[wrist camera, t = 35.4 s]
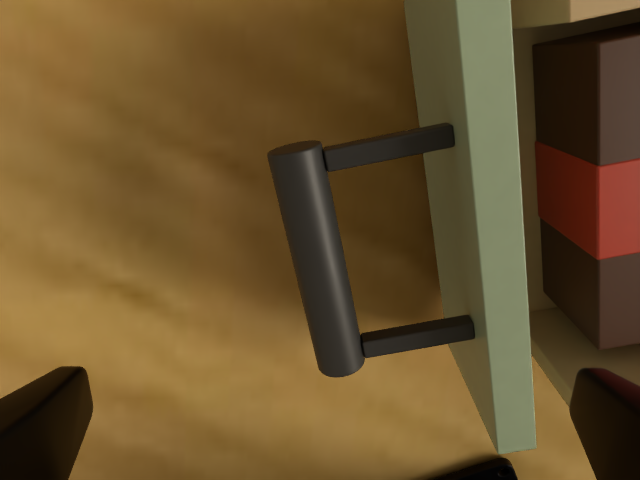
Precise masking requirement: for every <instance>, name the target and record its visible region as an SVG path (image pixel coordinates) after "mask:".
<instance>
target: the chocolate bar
mask: <svg viewBox="0 0 640 480" xmlns="http://www.w3.org/2000/svg"><path fill="white" fill-rule="evenodd" d="M532 55H533V77H534V98H535V120H536V141H535V159H536V180H537V201H538V216H539V217H540V229H541V250H542V272H543V292H544V293H545V294H546V295H547V296H548V297H549V298H550V299H551V300H552V301H553V302H554V304H555V305H556V306H557V307H558V308H559V309H560V310H561V311H562V312H563V313H564V314H565V315H566V316H567V317H568V318H569V319H570V320H571V321H572V323H573V324H574V325H575V326H576V327H577V328H578V329H579V330H580V331H581V332H582V333H583V334H584V335H585V336H586V337H587V338H588V339H589V341H590V342H591V343H592V344H593V345H594V346H595V347H596V348H597V349H598V350H603V349H609V348H615V347H621V346H626V345H632V344H638V343H640V22H636V23H631V24H627V25H622V26H617V27H613V28H608V29H603V30H598V31H594V32H589V33H584V34H580V35H575V36H570V37H565V38H561V39H556V40H551V41H547V42H542V43H537V44H534V45H532Z"/></svg>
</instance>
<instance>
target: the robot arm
mask: <svg viewBox="0 0 640 480" xmlns="http://www.w3.org/2000/svg"><path fill="white" fill-rule="evenodd" d="M569 410H570V415H571V419H572V421H573V424H574V426H575V428H576V431H577V433H578V436H579V438H580V440H581V443H582V445H583V447H584V450H585V452H586V455H587V457H588V459H589V462H590V464H591V467H592V469H593V471H594V474H595V476H596V479H597V480H640V386H639V385H637V384H635V383H633V382H631V381H629V380H627V379H625V378H623V377H621V376H619V375H617V374H615V373H613V372H611V371H609V370H607V369H605V368H582V369H580V370H579V371H578V372H577V375H576V378H575V383H574V387H573V391H572V396H571V400H570V405H569ZM92 412H93V401H92V396H91V391H90V385H89V380H88V375H87V372H86V370H85V369H84V368H83V367H80V366H62V367H59V368H57V369H55V370H53V371H51V372H49V373H47V374H45V375H44V376H42V377H40V378H38V379H36V380H34V381H33V382H31V383H29V384H27V385H25V386H23V387H21V388H20V389H18V390H16V391H14V392H12V393H10V394H9V395H7V396H5V397H3V398H1V399H0V480H68V479H69V476H70V474H71V471H72V468H73V465H74V463H75V460H76V457H77V455H78V452H79V449H80V447H81V444H82V441H83V439H84V436H85V433H86V430H87V428H88V425H89V422H90V420H91V417H92ZM503 468H504V469H503ZM501 469H502V470H501ZM434 480H518V479H517V476H516V474H515V471H514V469H513V467H512V464H511V462H510V461H509V460H508V459H506V458H499V459H496V460H492V461H489V462H486V463H483V464H480V465H477V466H474V467H471V468H468V469H465V470H462V471H459V472H456V473H452V474H449V475H446V476H443V477H440V478H437V479H434Z"/></svg>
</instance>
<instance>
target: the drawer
mask: <svg viewBox="0 0 640 480" xmlns="http://www.w3.org/2000/svg"><path fill="white" fill-rule="evenodd" d="M404 10H405V17H406V25H407V33H408V41H409V49H410V56H411V64H412V72H413V80H414V88H415V95H416V103H417V111H418V119H419V127H420V128H416V129H411V130H406V131H401V132H396V133H391V134H386V135H381V136H377V137H372V138H367V139H362V140H357V141H352V142H347V143H342V144H337V145H332V146H328V147H325V148H324V149H323V148H322V143H321V142H320V141H303V142H297V143H292V144H288V145H284V146H281V147H278V148H275V149H273V150H271V151H270V152H268V154H267V157H268V161H269V165H270V169H271V174H272V178H273V182H274V186H275V190H276V194H277V198H278V203H279V207H280V211H281V215H282V219H283V223H284V227H285V231H286V236H287V240H288V244H289V248H290V252H291V256H292V260H293V265H294V269H295V273H296V277H297V281H298V285H299V289H300V293H301V298H302V302H303V306H304V310H305V314H306V318H307V322H308V327H309V331H310V335H311V339H312V343H313V347H314V351H315V356H316V360H317V364H318V368H319V370H320V371H321V372H322V373H323V374H324V375H326V376H329V377H344V376H348V375H351V374H353V373H355V372H356V371H358V370H359V369H360V368H361V367H362V366H363V364H364V360H365V358H369V357H375V356H381V355H387V354H392V353H398V352H404V351H409V350H415V349H421V348H427V347H432V346H438V345H444V344H448V345H449V347H450V349H451V352H452V354H453V356H454V358H455V360H456V363H457V365H458V367H459V369H460V372H461V374H462V376H463V378H464V380H465V383H466V385H467V387H468V389H469V391H470V394H471V396H472V398H473V400H474V403H475V405H476V407H477V409H478V411H479V414H480V416H481V418H482V420H483V423H484V425H485V427H486V429H487V431H488V434H489V436H490V438H491V440H492V442H493V445H494V447H495V449H496V451H497V453H498V454H505V453H511V452H517V451H523V450H530V449H536V448H537V446H536V429H535V411H534V394H533V377H532V360H531V354H532V356H533V357H534V359H535V360H536V361H537V363H538V364H539V366H540V367H541V368H542V370H543V371H544V373H545V374H546V375H547V377H548V378H549V380H550V381H551V382H552V384H553V385H554V387H555V388H556V389H557V391H558V392H559V394H560V395H561V397H562V398H563V399H564V401H565V402H566V404H567V405H568V406H569V405H570V400H571V396H572V391H573V387H574V383H575V378H576V375H577V372H578V371H579V370H580V369H582V368H605V369H607V370H609V371H611V372H613V373H615V374H617V375H619V376H621V377H623V378H625V379H627V380H629V381H631V382H633V383H635V384H637V385H639V386H640V343H638V344H632V345H626V346H621V347H615V348H609V349H603V350H598V349H597V348H596V347H595V346H594V345H593V344H592V343H591V342H590V341H589V339H588V338H587V337H586V336H585V335H584V334H583V333H582V332H581V331H580V330H579V329H578V328H577V327H576V326H575V325H574V324H573V323H572V321H571V320H570V319H569V318H568V317H567V316H566V315H565V314H564V313H563V312H562V311H561V310H560V309H559V308H558V307H557V306H556V305H555V304H554V302H553V301H552V300H551V299H550V298H549V297H548V296H547V295H546V294H545V293H544V292H543V272H542V250H541V229H540V217H539V216H538V201H537V180H536V159H535V141H536V120H535V98H534V77H533V55H532V45H534V44H537V43H542V42H547V41H551V40H556V39H561V38H565V37H570V36H575V35H580V34H584V33H589V32H594V31H598V30H603V29H608V28H613V27H617V26H622V25H627V24H631V23H636V22H640V0H405V1H404ZM422 153H423V158H424V165H425V173H426V181H427V189H428V197H429V204H430V212H431V220H432V228H433V236H434V243H435V251H436V259H437V267H438V275H439V282H440V290H441V298H442V306H443V313H444V319H439V320H433V321H427V322H422V323H416V324H411V325H405V326H399V327H394V328H388V329H383V330H377V331H371V332H366V333H362V334H361V335H360V332H359V327H358V322H357V317H356V312H355V307H354V302H353V297H352V292H351V287H350V282H349V277H348V272H347V267H346V262H345V257H344V252H343V247H342V242H341V237H340V232H339V227H338V222H337V217H336V212H335V207H334V202H333V197H332V192H331V188H330V183H329V178H328V173H327V171H328V172H332V171H337V170H342V169H347V168H352V167H357V166H362V165H367V164H372V163H377V162H382V161H387V160H392V159H397V158H402V157H407V156H412V155H417V154H422ZM360 336H361V337H360Z"/></svg>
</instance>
